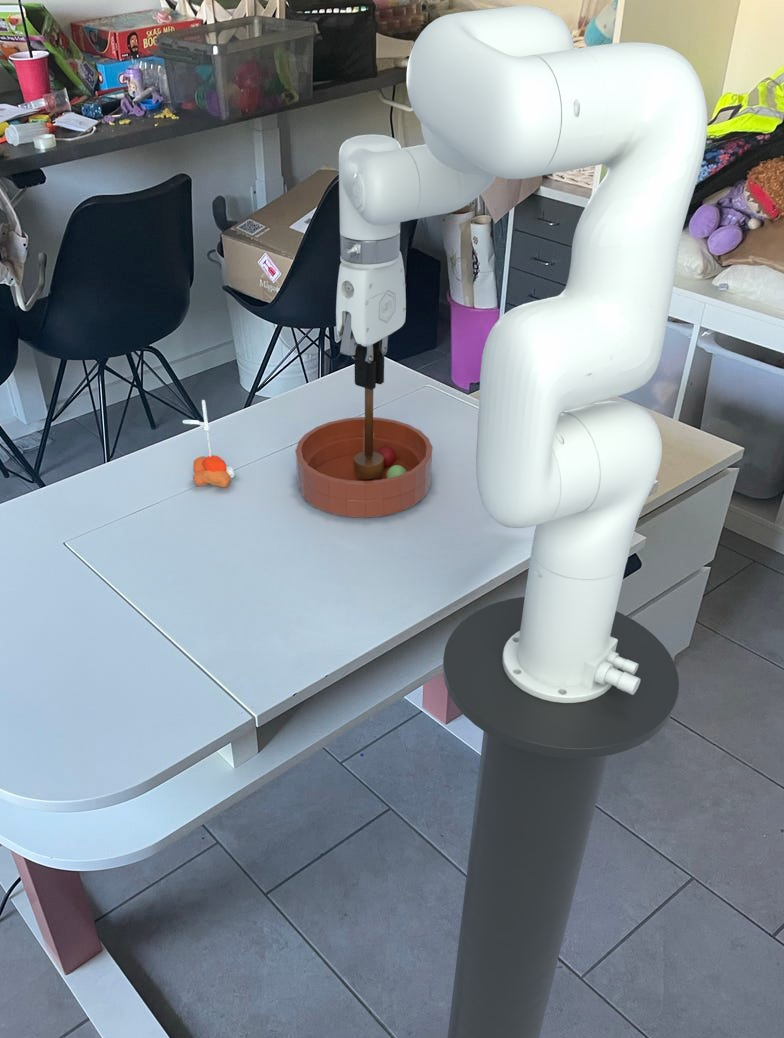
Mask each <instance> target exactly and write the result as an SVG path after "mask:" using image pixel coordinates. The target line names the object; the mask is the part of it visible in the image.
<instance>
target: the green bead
mask: <svg viewBox="0 0 784 1038" xmlns="http://www.w3.org/2000/svg"><path fill="white" fill-rule="evenodd" d="M404 473H406V470H405V468H403V467H402V466H400V465H394V466H392V467H390V468H389V470H388V471H387V479H388V478H392V477H396V476H399V475H401V474H404Z"/></svg>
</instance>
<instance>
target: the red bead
mask: <svg viewBox="0 0 784 1038" xmlns="http://www.w3.org/2000/svg"><path fill="white" fill-rule="evenodd" d="M377 453H380V454H381V455H382V456H383V457H384V467H389V466H391V465H392V464H393V463H394V462H395V460H396V454H395V451H394V450H393V449H392V448H390V447H382V448H380V449H379V450H378V452H377Z"/></svg>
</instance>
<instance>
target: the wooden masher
mask: <svg viewBox="0 0 784 1038" xmlns="http://www.w3.org/2000/svg"><path fill="white" fill-rule="evenodd" d="M373 361H374V348H373ZM364 417H365V452H361V453H358V454H357V455H356V456H355V457H354V473H355V475H356V476H358V477H360V478H363V479H374V478H377V477H380V476H381V475H382V474H383V472H384V457H383V456H382V455H381V454H380V453H377V452H373V417H374V389H373V390H370V389H367V388H364Z"/></svg>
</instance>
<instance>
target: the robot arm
mask: <svg viewBox="0 0 784 1038" xmlns="http://www.w3.org/2000/svg"><path fill="white" fill-rule="evenodd" d="M406 90H407V98H408V100H409V103H410V107H411V109H412V111H413V113H414V116H416V118H417V119H418V121H419V122H420V128H421V134H422V137H423V140H424V142H425V144H419V145H415V146H407V147H401V144H400V142H399V141H398V140H397V139H395V138H394V137H391V136H388V135H385V134H384V135H383V134H363V135H362V134H361V135H356V136H353V137H350V138H347V139H345V141H344V142H342V144H341V146H340V147H339V152H338V201H339V203H338V205H339V208H338V209H339V254H340V255H339V259H340V264H339V268H338V276H337V286H336V301H335V303H336V304H335V326H336V334H337V338H338V339H339V341H340V349H339V353H340V354H342V355H346V356H351V358H352V359H353V360H354V384H355V386H357V387H361V388H364V389H365V388H367V389H370V390H373V391H374V390H375V389H376V386H377V385H382V384H383V383H385V355H386V354H387V352H388V342H389V339H390V338H391V335H392V334H394V333H395V332H396V331H398V330H399V329H401V328H402V327H403V326H404V324H405V323H406V317H407V316H406V315H407V314H406V313H407V309H406V308H407V297H406V292H407V291H406V277H405V267H404V259H403V255H402V252H401V249H400V248H401V223H404V222H408V221H412V220H417V219H418V220H419V219H422V218H428V217H434V216H439V215H444V214H451V213H453V212H454V213H455V212H456V211H459V210H461V209H463V208H465V207H466V206H468V205H469V204H471V203H472V202H474V201H475V200H476V199H477V198H478V197H480V196H481V195H482V194H483V193H485V192H486V191H488V189H490V187H491V186H492V185H493V183H494V182H495V180H496V178H500V179H501V178H502V179H508V180H523V179H530V178H531V179H532V178H535V177H541V176H546V175H551V174H552V175H553V174H557V173H563V172H569V171H574V170H580V169H584V168H589V167H594V166H599V165H603V166H605V168H606V174H605V175H604V177H603V179H602V180H601V181H600V183H599V184H598V185H597V187H596V188H595V190H594V191H593V192H592V194H591V195H590V197H589V199H588V201H587V203H586V205H585V207H584V208H583V210H582V213H581V215H580V217H579V219H578V221H577V224H576V227H575V230H574V233H573V237H572V244H571V254H570V255H571V256H570V265H569V272H568V276H567V281H566V284H565V287H564V289H563V291H561V292H560V294H558V295H556V296H552V297H546V298H543V299H538V300H533V301H530V302H526V303H523V304H520V305H517V306H515V307H513V308H512V309H509V310H508V311H507V312H505V313H504V314H502V315H501V316H500V317H499V318H498V320H497V321H496V322H495V323H494V324H493V326H492V327H491V330H490V331H489V333H488V336H487V337H486V340H485V343H484V346H483V349H482V353H481V361H480V363H481V364H480V373H479V391H478V392H479V393H478V394H479V395H478V411H477V413H478V414H477V431H476V432H477V434H476V453H475V455H476V456H475V457H476V459H475V473H476V484H477V489H478V495H479V497H480V500H481V504H482V506H483V507H484V509H485V511H486V513H487V514H488V515H489V517H490V518H491V519H492V520H493V521H495V522H496V523H497V524H499V525H501V526H504V527H506V528H511V529H525V528H530V527H534V526H535V528H534V533H533V537H532V545H531V551H530V557H529V558H530V559H529V565H528V571H527V579H526V586H525V594H524V597H525V600H524V607H523V614H522V621H521V628H520V631H518V632H517V633H515V634H514V635H513V636H511V638H510V639H509V640H508V641H507V643H506V645H505V647H504V651H503V657H502V660H503V667H504V670H505V672H506V674H507V676H508V677H509V679H510V680H511V681H512V682H513V683H514V684H515V685H516V686H518V687H519V688H520V689H522V690H523V691H525V692H527V693H529V694H530V695H532V696H535V697H538V698H540V699H544V700H548V701H552V702H560V703H578V702H584V701H588V700H591V699H594V698H597V697H599V696H601V695H602V694H604V693H605V692H606V691H608V690H609V689H610V688H611V686H612V685H613V686H616V687H617V688H618V689H620V690H622V691H625V692H627V693H629V694H632V695H634V693H635V692H636V690H637V689H638V686H639V684H640V680H641V679H640V678H638V677H636V676H633V675H634V674H635V673H636V671H637V669H638V665H639V664H638V663H635V662H633V661H630V660H628V659H627V660H626V659H624V658H621V657H619V653H616V652H615V651H616V646H617V642H618V639H615V638H613V637H611V636H610V634H611V630H612V625H613V621H614V616H615V612H616V611H617V607H618V604H619V603H618V602H619V597H620V593H621V589H622V584H623V579H624V575H625V570H626V566H627V563H628V559H629V555H630V550H631V546H632V541H633V538H634V534H635V530H636V527H637V523H638V521H639V518H640V515H641V514H642V510H643V507H644V505H645V503H646V501H647V499H648V497H649V495H650V493H651V491H652V489H653V486H654V484H655V482H656V479H657V476H658V473H659V471H660V467H661V463H662V455H663V442H662V436H661V432H660V429H659V426H658V424H657V422H656V420H655V418H653V416H652V415H651V414H650V413H649V412H648V411H647V410H646V409H644V408H643V407H642V406H640V405H638V404H636V403H633V402H631V401H626V400H619V399H616V400H615V399H613V398H616V397H620V396H623V395H625V394H629V393H631V392H633V391H636V390H638V389H640V388H641V387H643V386H645V385H646V384H647V383H648V382H649V381H650V380H651V379H652V377H653V376H654V375H655V373H656V371H657V369H658V366H659V364H660V360H661V356H662V352H663V347H664V342H665V337H666V330H667V326H668V319H669V313H670V307H671V303H672V302H671V301H672V296H673V289H674V283H675V279H676V278H675V277H676V272H677V267H678V258H679V251H680V245H681V239H682V234H683V230H684V226H685V221H686V218H687V215H688V212H689V207H690V204H691V201H692V199H693V194H694V191H695V188H696V184H697V182H698V178H699V175H700V172H701V168H702V163H703V161H704V155H705V149H706V144H707V139H708V138H707V137H708V107H707V106H708V105H707V100H706V95H705V92H704V88H703V85H702V82H701V80H700V78H699V75H698V74H697V72H696V70H695V68H694V67H693V65H692V64H691V62H690V61H689V60H688V59H687V58H686V57H685V56H684V55H682V54H681V53H679V52H678V51H676V50H674V49H673V48H670V47H668V46H666V45H661V44H658V43H654V42H653V43H652V42H645V41H644V42H643V41H628V42H627V41H626V42H614V43H606V44H597V45H591V46H584V47H579V48H575V44H574V39H573V35H572V33H571V31H570V29H569V27H568V25H567V24H566V23H565V21H564V20H563V19H562V18H561V17H560V16H559V15H557V14H556V13H555V12H553V11H551V10H549V9H547V8H544V7H541V6H535V5H512V6H503V7H496V8H487V9H479V10H470V11H460V12H454V13H449V14H448V13H447V14H445V15H444V14H443V15H442V16H439V17H437V18H435V19H434V20H432V22H430V23H428V24H427V26H426V27H425V28H424V29H423V30H422V31H421V32H420V34H419V35H418V37H417V38H416V39H415V41H414V43H413V46H412V48H411V50H410V54H409V58H408V61H407V68H406ZM373 348H374V361H373ZM609 399H613V400H609ZM618 668H619V669H621V670H622V671H624V672H621V671H619V670H618ZM626 672H627V673H626ZM628 673H629V674H628Z"/></svg>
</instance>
